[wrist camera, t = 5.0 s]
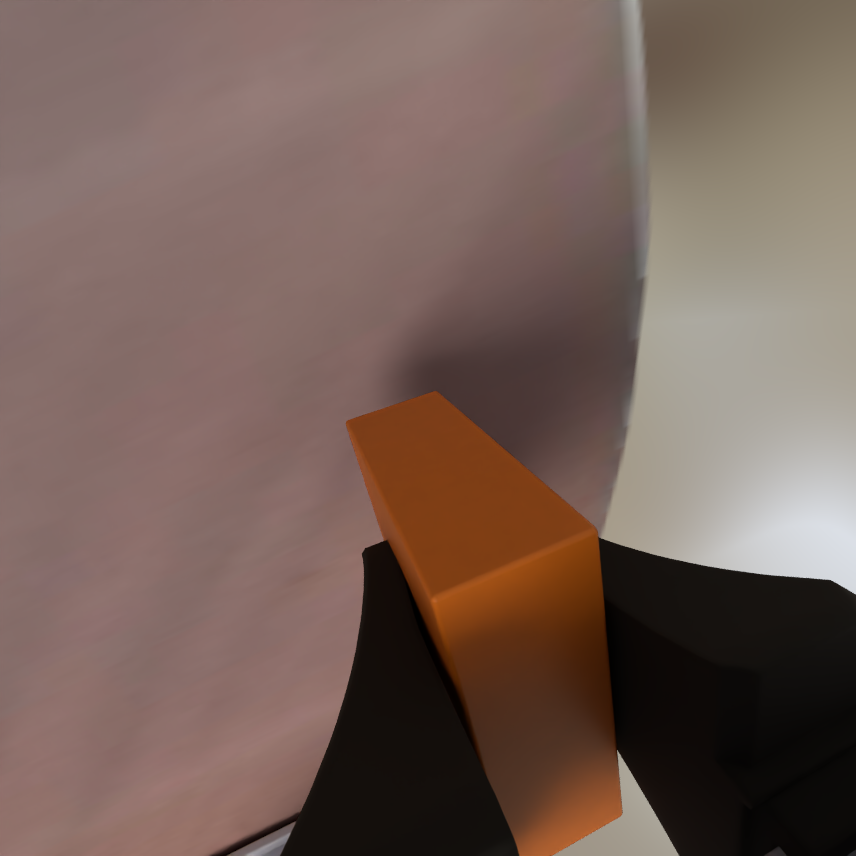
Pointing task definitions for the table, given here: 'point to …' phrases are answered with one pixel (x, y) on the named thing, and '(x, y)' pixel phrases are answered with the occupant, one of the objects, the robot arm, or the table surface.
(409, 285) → the table surface
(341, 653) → the table surface
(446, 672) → the block
